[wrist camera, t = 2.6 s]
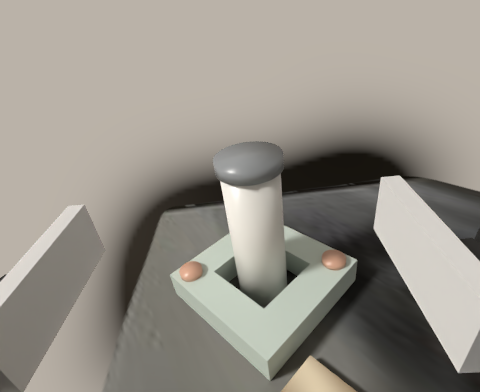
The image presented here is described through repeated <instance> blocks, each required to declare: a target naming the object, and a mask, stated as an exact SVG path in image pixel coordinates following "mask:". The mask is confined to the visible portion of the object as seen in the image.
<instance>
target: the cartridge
mask: <svg viewBox="0 0 480 392" xmlns="http://www.w3.org/2000/svg"><path fill="white" fill-rule="evenodd" d="M283 163H284V162H283V151H282V149H281V148H280V147H279V146H277V145H275V144H272V143H268V142H244V143H239V144H235V145H232V146H229V147H226V148H224V149H222V150H221V151H219V152H218V153H217V154H216V155H215V156H214V158H213V164H214V169H215V174H216V177H217V178H218V179H219V180H220V182H221V187H222V193H223V198H224V203H225V209H226V214H227V220H228V225H229V231H230V236H231V241H232V247H233V252H234V258H235V263H236V269H237V274H238V279H239V285H240V290H241V292H242V293H244V294H245V295H246V296H248V297H249V298H250V299H252V300H253V301H254V302H256V303H257V304H258V305H260V306H261V307H266V306H267V305H268V304H269V303H270V302H271V301H272V300H273V299H275V298H276V297H277V296H278V295H279V294H280V293H281V292H282V291H283V290H284V289H285V288H286V287H287V270H286V254H285V238H284V222H283V205H282V189H281V172H282V171H283V168H284V164H283Z"/></svg>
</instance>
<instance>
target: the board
mask: <svg viewBox="0 0 480 392" xmlns="http://www.w3.org/2000/svg"><path fill="white" fill-rule="evenodd" d="M281 392H357V391H356V390H354V389H353V388H352V387H350V386H349V385H348V384H347V383H345V382H344V381H343V380H341V379H340V378H339V377H337V376H336V375H335V374H334V373H332V372H331V371H330V370H328V369H327V368H326V367H325V366H323V365H322V364H321V363H319V362H318V361H317V360H316V359H314V358H313V357H312V356H309V357H308V358H307V360H306V361H305V362H304V364H303V365H302V366H301V367H300V369H299V370H298V371H297V372H296V374H295V375H294V376H293V377H292V379H291V380H290V381H289V382H288V384H287V385H286V386H285V387H284V389H283V390H282V391H281Z"/></svg>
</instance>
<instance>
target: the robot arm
mask: <svg viewBox="0 0 480 392" xmlns="http://www.w3.org/2000/svg"><path fill="white" fill-rule="evenodd" d="M374 230H375V232H376V234H377V236H378V237H379V239H380V241H381V242H382V244H383V246H384V247H385V249H386V251H387V253H388V254H389V256H390V258H391V259H392V261H393V263H394V264H395V266H396V268H397V270H398V271H399V273H400V275H401V276H402V278H403V280H404V281H405V283H406V285H407V287H408V288H409V290H410V292H411V293H412V295H413V297H414V298H415V300H416V302H417V304H418V305H419V307H420V309H421V310H422V312H423V314H424V315H425V317H426V319H427V321H428V322H429V324H430V326H431V327H432V329H433V331H434V332H435V334H436V336H437V337H438V339H439V341H440V343H441V344H442V346H443V348H444V349H445V351H446V353H447V354H448V356H449V358H450V360H451V361H452V363H453V365H454V366H455V368H456V370H457V371H458V373H470V372H480V229H479V230H478V232H477V234H476V237H475V240H474V239H473V238H468V239H459V238H458V237H457V236H456V235H455V234H454V233H453V232H452V231H451V230H450V229H449V228H448V227H447V226H446V225H445V223H444V222H443V221H442V220H441V219H440V218H439V217H438V216H437V215H436V214H435V213H434V212H433V211H432V210H431V208H430V207H429V206H428V205H427V204H426V203H425V202H424V201H423V200H422V199H421V198H420V197H419V196H418V195H417V194H416V192H415V191H414V190H413V189H412V188H411V187H410V186H409V185H408V184H407V183H406V182H405V181H404V180H403V179H402V177H401V176H390V177H381V182H380V188H379V195H378V202H377V208H376V215H375V222H374ZM104 252H105V248H104V246H103V244H102V242H101V240H100V237H99V235H98V233H97V231H96V229H95V227H94V224H93V222H92V220H91V218H90V216H89V213H88V211H87V209H86V207H85V205H74V206H68V207H67V208H66V209H65V210H64V211H63V212H62V214H61V215H60V216H59V217H58V218H57V219H56V220H55V221H54V223H53V224H52V225H51V226H50V227H49V228H48V229H47V230H46V232H45V233H44V234H43V235H42V236H41V237H40V238H39V239H38V240H37V241H36V243H35V244H34V245H33V246H32V247H31V248H30V249H29V251H27V253H26V254H25V255H24V256H23V257H22V258H21V259H20V260H19V262H18V263H17V264H16V265H15V266H14V267H13V268H12V269H11V270H10V272H9V273H8V274H6V275H4V276H3V277H1V278H0V392H24V390H25V388H26V386H27V385H28V383H29V381H30V380H31V378H32V376H33V374H34V373H35V371H36V369H37V368H38V366H39V364H40V362H41V361H42V359H43V357H44V355H45V354H46V352H47V350H48V348H49V347H50V345H51V343H52V342H53V340H54V338H55V336H56V335H57V333H58V331H59V329H60V328H61V326H62V324H63V323H64V321H65V319H66V317H67V316H68V314H69V312H70V310H71V309H72V307H73V305H74V303H75V302H76V300H77V298H78V297H79V295H80V293H81V291H82V290H83V288H84V286H85V285H86V283H87V281H88V279H89V278H90V276H91V274H92V272H93V271H94V269H95V267H96V266H97V264H98V262H99V260H100V259H101V257H102V255H103V253H104Z"/></svg>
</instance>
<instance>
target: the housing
mask: <svg viewBox="0 0 480 392" xmlns="http://www.w3.org/2000/svg"><path fill="white" fill-rule="evenodd" d="M284 238H285V254H286V269H287V270H288V271H290V272H292V273H293V274H295V275H297V277H296V278H295V279H294V280H293V281H292V282H291V283H290V284H289V285H288V286H287V287H286V288H285V289H284V290H283V291H282V292H281V293H280V294H279V295H278V296H277V297H276V298H275V299H273V300H272V301H271V302H270V303H269V304H268V305H267V306H266V307H265V308H262V307H261V306H260V305H258V304H257V303H256V302H254V301H253V300H252V299H250V298H249V297H248V296H246V295H245V294H244V293H242V292H241V291H240V290H238V289H237V288H235V287H234V286H233V285H231V284H230V283H229V281H231V280H232V279H233V278H234V277H235V276H237V275H238V274H237V269H236V263H235V258H234V252H233V247H232V241H231V236H230V233H229V234H228V235H226V236H225V237H223V238H222V239H220V240H219V241H218V242H216V243H215V244H213V245H212V246H210V247H209V248H208V249H206V250H205V251H203V252H202V253H201V254H199V255H198V256H196V257H195V258H193V259H192V260H191V261H189V262H187V263H185V264H184V265H183V266H182V267H181V268H179V269H178V270H176V271H175V272H174V273H172V274H171V275H170V276H171V279H172V282H173V285H174V288H175V291H176V293H177V294H178V295H179V296H180V297H181V298H182V299H183V300H184V301H185V302H186V303H187V304H188V305H189V306H190V307H191V308H192V309H194V310H195V311H196V312H197V313H198V314H199V315H200V316H201V317H202V318H203V319H204V320H205V321H206V322H207V323H209V324H210V325H211V326H212V327H213V328H214V329H215V330H216V331H217V332H218V333H219V334H220V335H221V336H222V337H223V338H225V339H226V340H227V341H228V342H229V343H230V344H231V345H232V346H233V347H234V348H235V349H236V350H237V351H238V352H239V353H241V354H242V355H243V356H244V357H245V358H246V359H247V360H248V361H249V362H250V363H251V364H252V365H253V366H254V367H256V368H257V369H258V370H259V371H260V372H261V373H262V374H263V375H264V376H265V377H266V378H267V379H268V380H269V381H271V380H272V378H273V377H274V376H275V375H276V374H277V372H278V371H279V370H280V369H281V368H282V367H283V365H284V364H285V363H286V362H287V361H288V359H289V358H290V357H291V356H292V355H293V353H294V352H295V351H296V350H297V349H298V348H299V346H300V345H301V344H302V343H303V342H304V340H305V339H306V338H307V337H308V336H309V334H310V333H311V332H312V331H313V330H314V329H315V327H316V326H317V325H318V324H319V323H320V321H321V320H322V319H323V318H324V317H325V315H326V314H327V313H328V312H329V311H330V310H331V308H332V307H333V306H334V305H335V304H336V302H337V301H338V300H339V299H340V298H341V297H342V295H343V294H344V293H345V292H346V291H347V289H348V288H349V287H350V286H351V285H352V283H353V282H354V281H355V278H356V269H357V259H354V258H352V257H350V256H348V255H346V254H344V253H342V252H341V251H338V250H335V249H333V248H331V247H329V246H327V245H325V244H323V243H321V242H318V241H316V240H314V239H312V238H310V237H308V236H306V235H304V234H301V233H299V232H297V231H295V230H293V229H291V228H289V227H287V226H284Z"/></svg>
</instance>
